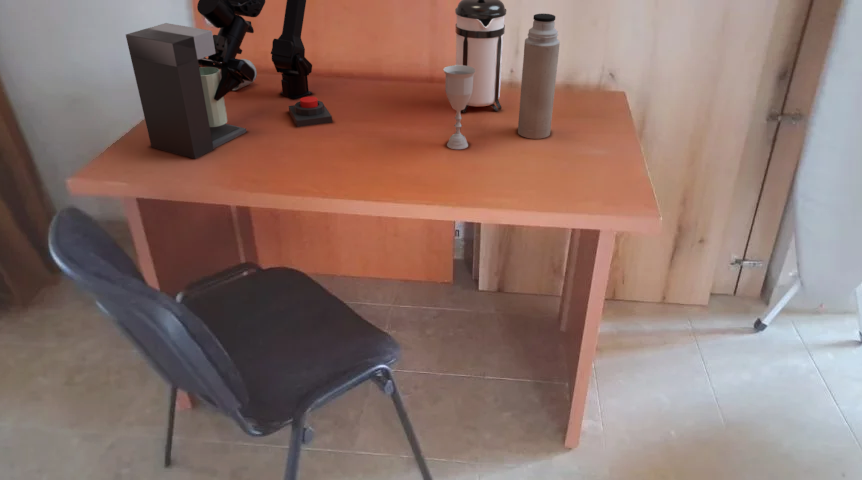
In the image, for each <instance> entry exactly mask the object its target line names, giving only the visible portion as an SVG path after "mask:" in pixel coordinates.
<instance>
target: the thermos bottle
mask: <svg viewBox="0 0 862 480" xmlns="http://www.w3.org/2000/svg"><path fill="white" fill-rule="evenodd" d="M532 19H533V21H532V27H530V28H529V29H528V33H527V37H526V38H525V39H524V45H523V47H524V48H523V59H522V70H521V71H522V72H521V85H520V96H519V111H518V122H517V125H518V126H517V133H518V135H520V137H523V138H527V139H532V140H533V139H535V140H539V139H540V140H541V139H545V138H548V137H549V136H550V135H551V132H552V131H551V130H552V120H553V110H554V101H555V93H556V81H557V74H558V63H559V54H560V45H561V44H560V43H561V41H560V40H559V39H558V36H559V33H558V32H559V31H558V30H557V28H555V25H556V24H555V23H556V22H555V20H556V15H554V14H551V13H536V14H533V18H532Z"/></svg>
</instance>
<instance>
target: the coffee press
mask: <svg viewBox="0 0 862 480" xmlns="http://www.w3.org/2000/svg"><path fill="white" fill-rule="evenodd" d="M505 7H506V6H505V5H504V3H503V1H501V0H460V1H459V2H458V4H457V6H456V7H455V10H454V13H455V15H456V23H455V35H456V36H455V65H464V66H470V67H473V68H475V69H476V71H475V73H474V75H473V92H472V94H471V97H470V100H469V101H468V103H467V105H466V107H465V109H463V110H461V113H463V114H464V113H466V112H467V109H468V108H469V107H486V106H487V107H488V106H489V107H492V109H493V110H494V111H495V112H499V111H501V110H502V107H503V106H502V104H501V103H500V101H499V100H500V96H501V86H502V85H501V82H502V81H501V80H502V67H503V66H502V65H503V51H504V35H505V31H506V25H505V19H506V18H505V17H506V15H507V9H506V8H505Z"/></svg>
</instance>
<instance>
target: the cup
mask: <svg viewBox="0 0 862 480" xmlns="http://www.w3.org/2000/svg"><path fill="white" fill-rule="evenodd" d="M199 70H200V75H201V81H202V87H203V92H204V98H205V103H206V109H207V115H208V120H209V126H210V127H217V126H221V125H224V124H228V113H227V106H226V100H225V96H223V97H222V98H221V99H220V100H218V101H216V100H215V99H214V97H215V94H216V91H217V88H218V86H219V83H220V80H221V75H220V69H218V68H215V67H200V68H199Z"/></svg>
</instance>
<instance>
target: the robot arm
mask: <svg viewBox="0 0 862 480" xmlns="http://www.w3.org/2000/svg"><path fill="white" fill-rule="evenodd" d="M265 4H266V0H198V2H197V7H196V10H197V12H198V13H199V14H200V15H201V16H202V17H204V19H205V20H207V21H208V22H209V23H210V24H211V25H212V26H213V27H214V28H217V29H219V30H218V33H217V34H213V41H214V47H215V53H216V54H213V55H210V56H207V57H204V58H202V59H199V60H198V64H199V68H200V67H215V68H218V69H219V70H220V69H221V72H222V78H221V80H220V83H219V86H218V88H217V91H216V94H215V97H214V99H215V100H216V101H218V100H220V99H221V98H222V97H223V96H224V97H225V96H226V95H227V94H229V93H230V92H231V91H233V90H232V89H234V88H235V87H236V86H238V85H239V84H241V83H244V82H245V81H250V82H252V81H253V79H254V77H255V71H254V69H253V68H252V67H251V66H250V65H248V64H247V63H246V62H245V61H244V60H240V59H241V58H236V57H237V55H242V53H243V49H242V48H241V46H242V43H243V41H244V39H245V36H246V34H247V33H249V34H254V32H255V30H254V28H253V27H254V26H253V25H252V21H250V20H246V19H245V18H244V17H247V18H258V17H259V15H261V13H262V10H263V8H264V6H265ZM306 4H307V0H286V3H285V10H284V18H283V25H282V31H281V33H280V35H279V37H278V38H273V40H272V44H271V45H272V46H271V51H270V55H271V62H272V63H273V65H274V68H275V70H276V73H280V74H281V78H282V79H281V81H280V82H281V90H282V91H280V95H282V96H284V97H287V98H289V99H290V100H291V99H292V100H297V99H301V98H303V97H308V96H310V95H311V96H312V95H313V92H312V91H310V89H309V79H308V77H309V75H310V74H311V73H312V71H313V64H312V63H311V62H310V61H309V59H308V58H306V57H305V56H306V55H305V54H306V49H305V45H304V43H303V39H302V31H303V25H304V18H305V12H306ZM244 80H245V81H244ZM252 83H253V82H252Z"/></svg>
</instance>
